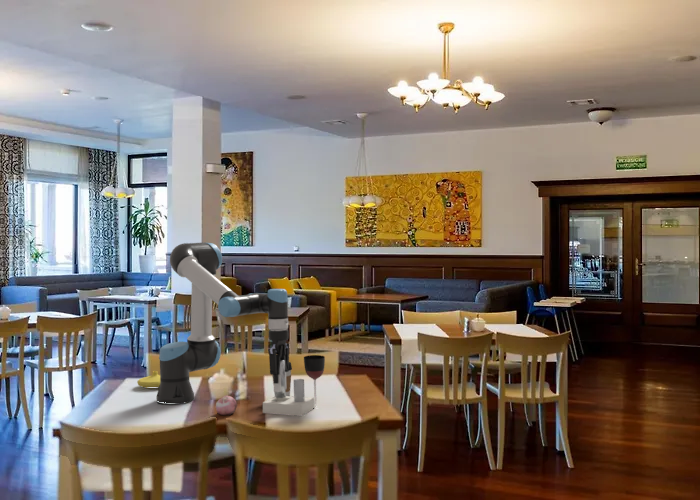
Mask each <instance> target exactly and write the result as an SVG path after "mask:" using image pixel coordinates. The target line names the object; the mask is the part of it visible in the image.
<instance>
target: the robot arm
mask: <svg viewBox="0 0 700 500" xmlns="http://www.w3.org/2000/svg"><path fill="white" fill-rule="evenodd" d="M169 263H170V266H171V268H172V270H173V271H174V272H175V273H176V274H177V275H178V276H179V277H181V278H186V279H187V280H188V281H189V282H190V283H191V301H190V303H191V310H190V311H191V314H190V315H191V317H190V318H191V319H190V321H191V322H190V335H189V336H188V337H187V341H175V342H170V343H167V344H164V345H163V346H161V347H160V349H159V357H158V359H159V375H160V386H159V388H157V389H158V391H157V394H156V402H157V401H159V402H164V403H165V402H166V403H182V404H185V403H184V402H187V403H190V402H192V401H194V400H195V392H194V390H193V387H192V383H191V382H190V373H191V372H197V371H202V370H208V369H210V368H213V367H215V366H216V365H217V364H218V363H219V361H220V360H221V354H222V352H221V346H220V344H219V342H217V340H216V337H215V336H214V335H213V334H212V332H213V331H212V329H213V328H212V327H213V325H212V323H213V322H212V321H213V320H212V319H213V317H212V316H213V302H214V303H215V304H216V305H217V309H218V310H217V311H219V314H220V315H221V316H222V317H225V318H234V317H239V316H246V315H253V314H254V315H255V314H268V317H267V318H268V329H269V331H268V340H269V341H271V342H272V343H271V347H270V348H268V357H269V358H268V359H269V374H270V375H271V376H272V375H273V377H272V381H273V380H274V385H273V392H281V375H280V374H279V371H280V360H285V386H286V372H288V371H289V370H287V369H289V362H290V343H287V340H289V338H290V337H289V323H290V322H289V313H288V312H289V308H288V305H289V302H288V301H289V298H288V291H287V290H286V289H285V288H270V289H268V290H267V293H259V292H253V293H248V294H244V295H239V294H237V293H236V292H234V291H233V290H232V289H231V288H229V287H228V286H227V285H225V284H224V283H223V282H222V281H221V280H220V279H218V278H217V277H216V275H217V270H218V269H219V268H220V267H221V266H222V263H223V254H222V252H221V250H220V248H219V247H218V246H217V245H216V244H215V243H212V242H190V243H188V242H186V243H185V242H184V243H180V244H178V245H176V246H175V247H174V248H173V249H172V251H171V253H170V255H169ZM286 389H287V386H286ZM189 401H190V402H189Z"/></svg>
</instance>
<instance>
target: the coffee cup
mask: <svg viewBox="0 0 700 500" xmlns="http://www.w3.org/2000/svg"><path fill="white" fill-rule="evenodd" d="M287 370H289V371H288V372H286V386H287V389H286V396H291V385H292V384H291V383H292V370H293V366H292V363H291V361H289V369H287ZM271 376H272V377H271V378H273V375H271ZM272 384H273V386H274V380H273V379H272ZM273 392H274V391H273ZM274 394H275V392H274Z"/></svg>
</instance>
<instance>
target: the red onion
mask: <svg viewBox="0 0 700 500" xmlns="http://www.w3.org/2000/svg"><path fill="white" fill-rule="evenodd" d="M237 407H238V404H237V401H236V399H235V398H234V397H232V396H230V395H227V394H226V395H224V396H222V397H220V398H219V399H218V400H217V401H216V403H215V410H216V414H217V415H221V416H230V415H232V414H233V413H235V411H236V410H237Z"/></svg>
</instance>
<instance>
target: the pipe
mask: <svg viewBox="0 0 700 500" xmlns="http://www.w3.org/2000/svg"><path fill="white" fill-rule="evenodd" d="M279 374H280V375H281V392H275V393H274V397H276V398H285V397H286V386H285V360H280V371H279Z"/></svg>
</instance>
